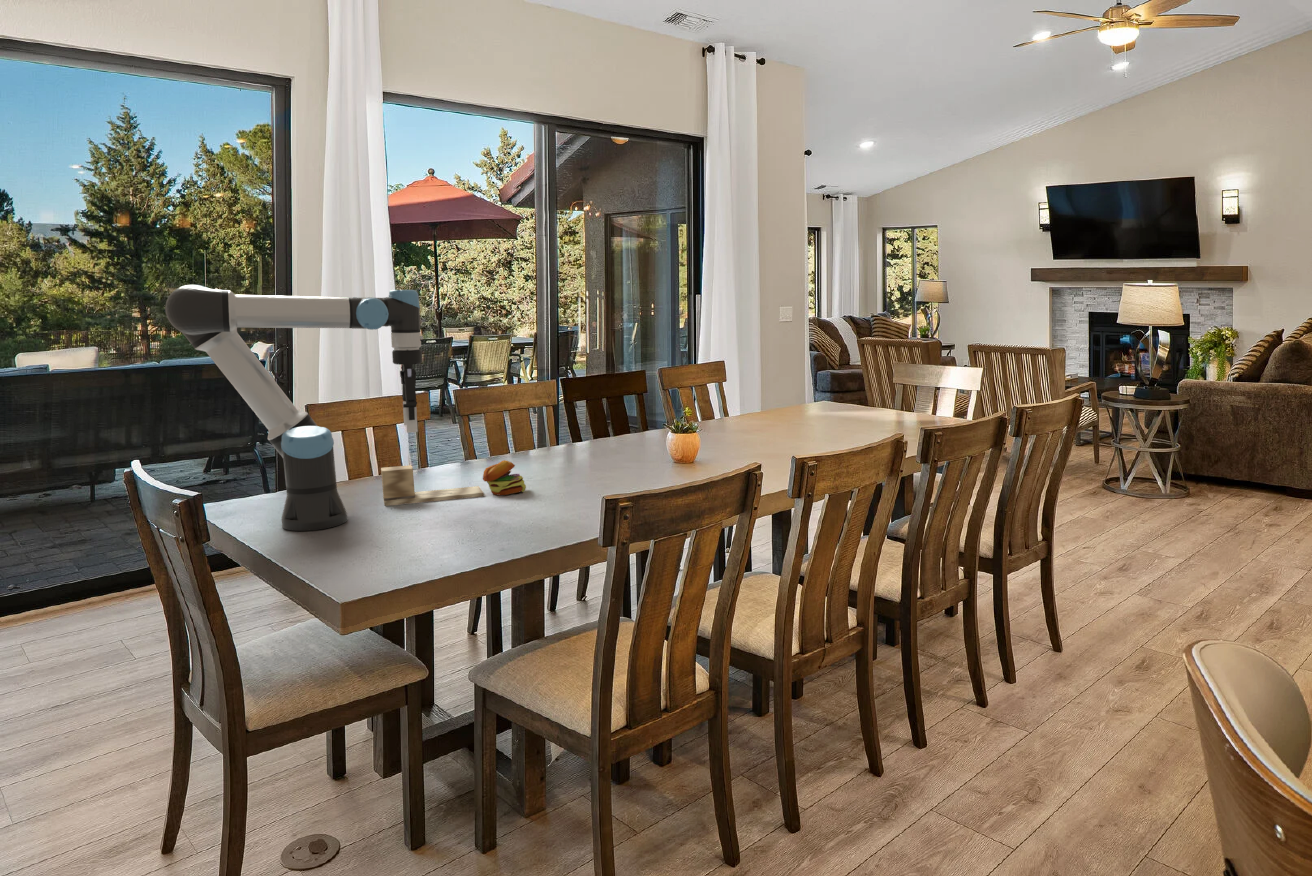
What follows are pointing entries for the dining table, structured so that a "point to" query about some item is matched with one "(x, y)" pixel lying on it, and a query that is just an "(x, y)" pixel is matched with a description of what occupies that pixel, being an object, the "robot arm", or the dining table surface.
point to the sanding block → (398, 482)
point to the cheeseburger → (503, 479)
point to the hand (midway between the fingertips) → (410, 428)
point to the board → (439, 495)
